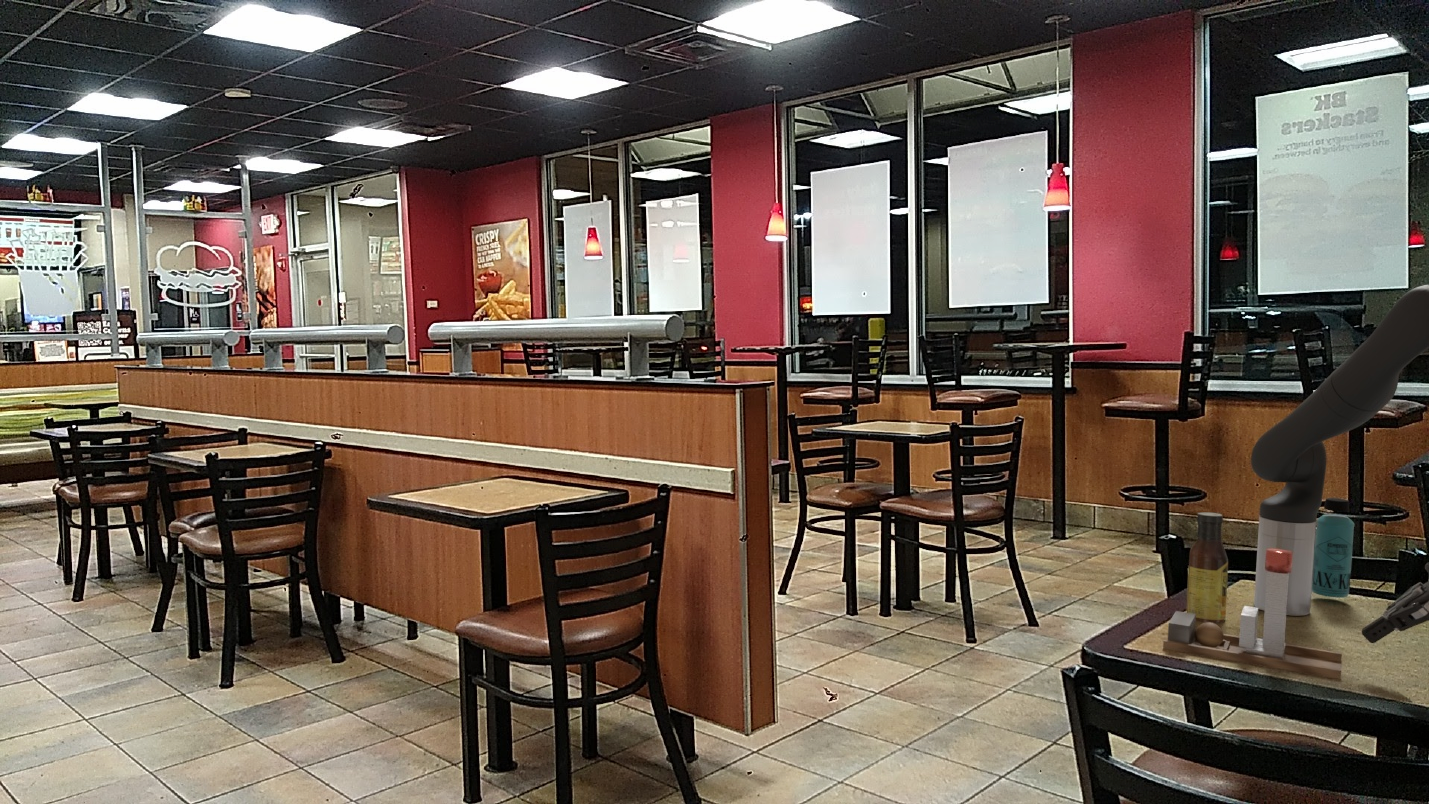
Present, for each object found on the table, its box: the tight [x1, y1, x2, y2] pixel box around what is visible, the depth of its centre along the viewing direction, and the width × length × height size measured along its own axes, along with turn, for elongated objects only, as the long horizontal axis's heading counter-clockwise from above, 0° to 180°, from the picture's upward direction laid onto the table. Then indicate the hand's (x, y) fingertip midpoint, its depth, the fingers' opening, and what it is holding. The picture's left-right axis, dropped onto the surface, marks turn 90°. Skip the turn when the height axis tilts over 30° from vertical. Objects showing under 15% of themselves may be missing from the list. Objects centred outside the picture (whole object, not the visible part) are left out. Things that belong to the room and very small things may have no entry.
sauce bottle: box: [1186, 511, 1229, 624], centre depth 177 cm, size 6×6×20 cm
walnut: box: [1196, 622, 1224, 647], centre depth 161 cm, size 4×4×4 cm
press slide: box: [1239, 549, 1293, 660], centre depth 156 cm, size 6×7×16 cm
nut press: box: [1162, 610, 1343, 681], centre depth 158 cm, size 24×10×6 cm, turn 58°
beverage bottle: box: [1312, 497, 1356, 598], centre depth 194 cm, size 6×7×20 cm
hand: (1366, 637), depth 149 cm, fingers closed
